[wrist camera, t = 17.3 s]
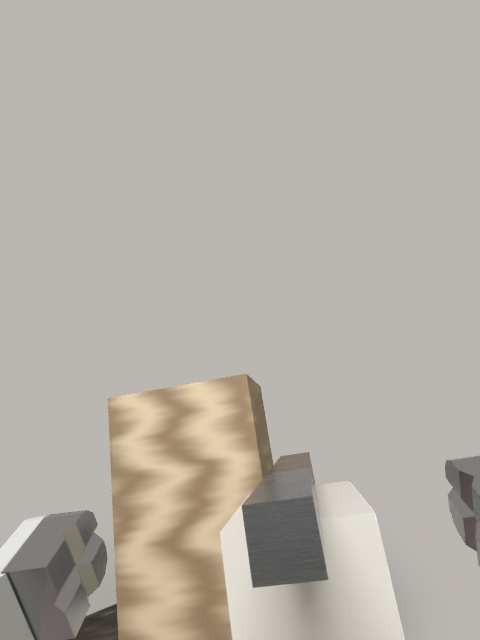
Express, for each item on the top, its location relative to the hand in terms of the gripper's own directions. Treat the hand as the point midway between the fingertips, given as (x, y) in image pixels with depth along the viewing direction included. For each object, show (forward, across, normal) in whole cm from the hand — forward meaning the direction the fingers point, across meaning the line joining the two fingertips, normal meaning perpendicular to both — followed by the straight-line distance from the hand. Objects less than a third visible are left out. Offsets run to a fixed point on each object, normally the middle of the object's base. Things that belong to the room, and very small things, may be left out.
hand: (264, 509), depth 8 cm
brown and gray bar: (+11, 0, -10) cm, 15 cm away
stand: (+18, -10, -32) cm, 38 cm away
